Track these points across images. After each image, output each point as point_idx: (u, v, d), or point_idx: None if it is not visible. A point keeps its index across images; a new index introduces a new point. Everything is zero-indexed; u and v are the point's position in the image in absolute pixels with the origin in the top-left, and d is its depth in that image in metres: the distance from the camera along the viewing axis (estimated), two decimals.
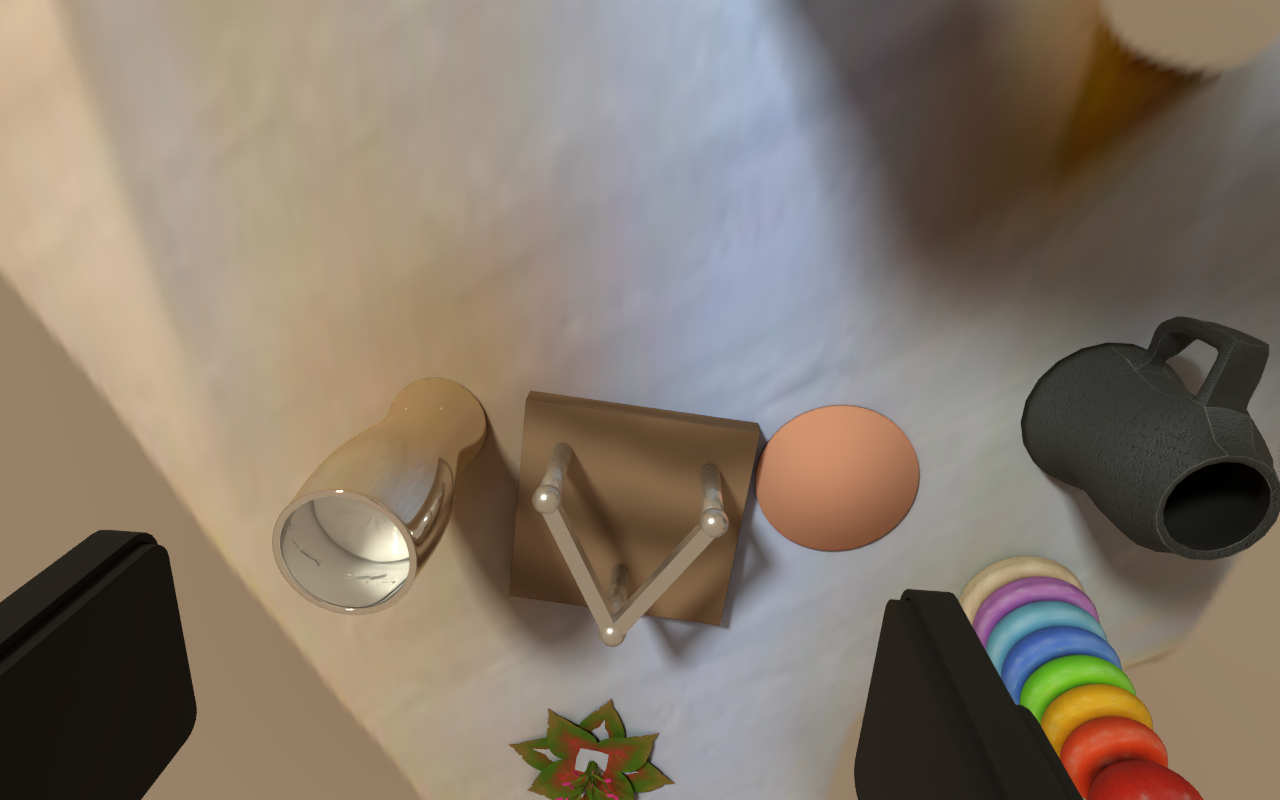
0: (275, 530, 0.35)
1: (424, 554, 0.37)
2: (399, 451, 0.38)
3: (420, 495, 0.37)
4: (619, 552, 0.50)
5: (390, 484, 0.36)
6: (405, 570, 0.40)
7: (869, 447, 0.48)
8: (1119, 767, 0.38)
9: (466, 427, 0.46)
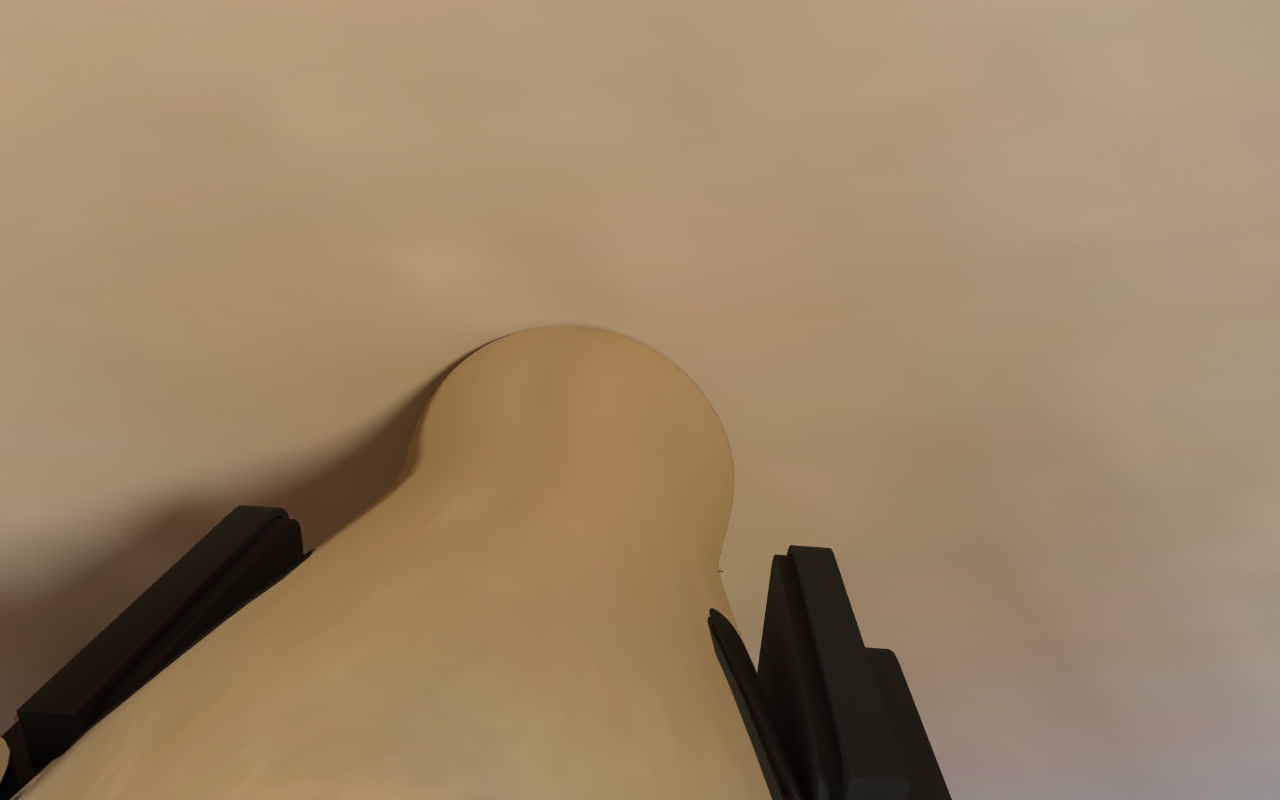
0: None
1: None
2: None
3: None
4: None
5: None
6: None
7: None
8: None
9: None
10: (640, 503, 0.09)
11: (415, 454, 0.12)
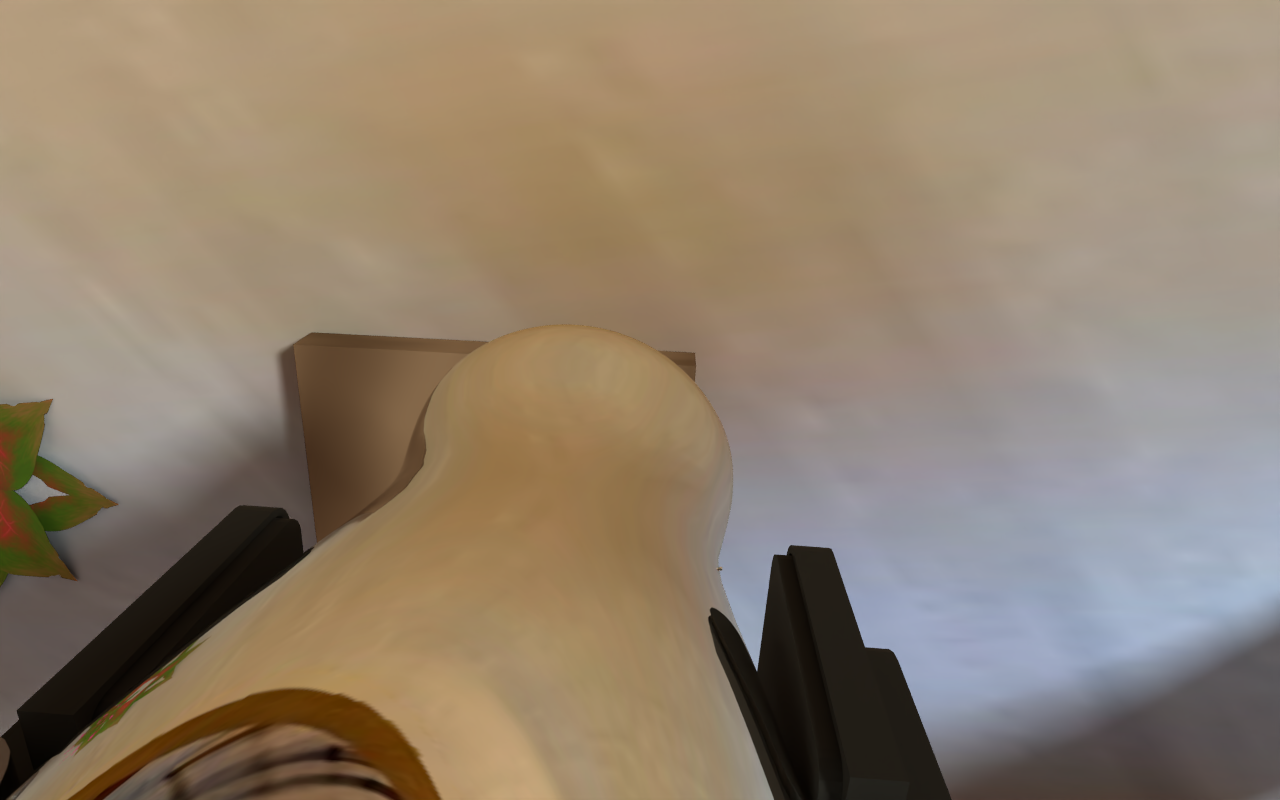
0: None
1: None
2: None
3: None
4: None
5: None
6: None
7: None
8: None
9: None
10: (639, 501, 0.09)
11: (414, 452, 0.12)
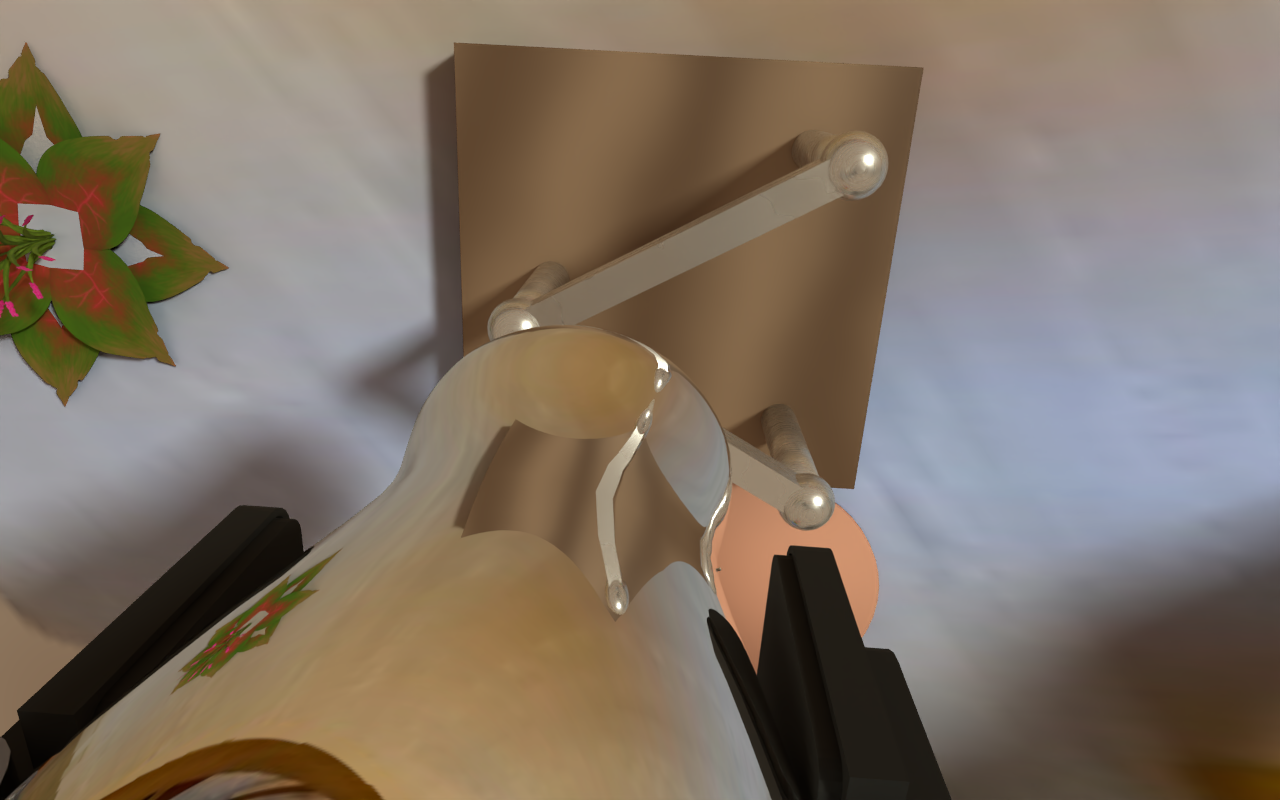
0: None
1: None
2: None
3: None
4: None
5: None
6: None
7: None
8: None
9: None
10: (638, 502, 0.09)
11: (413, 453, 0.12)
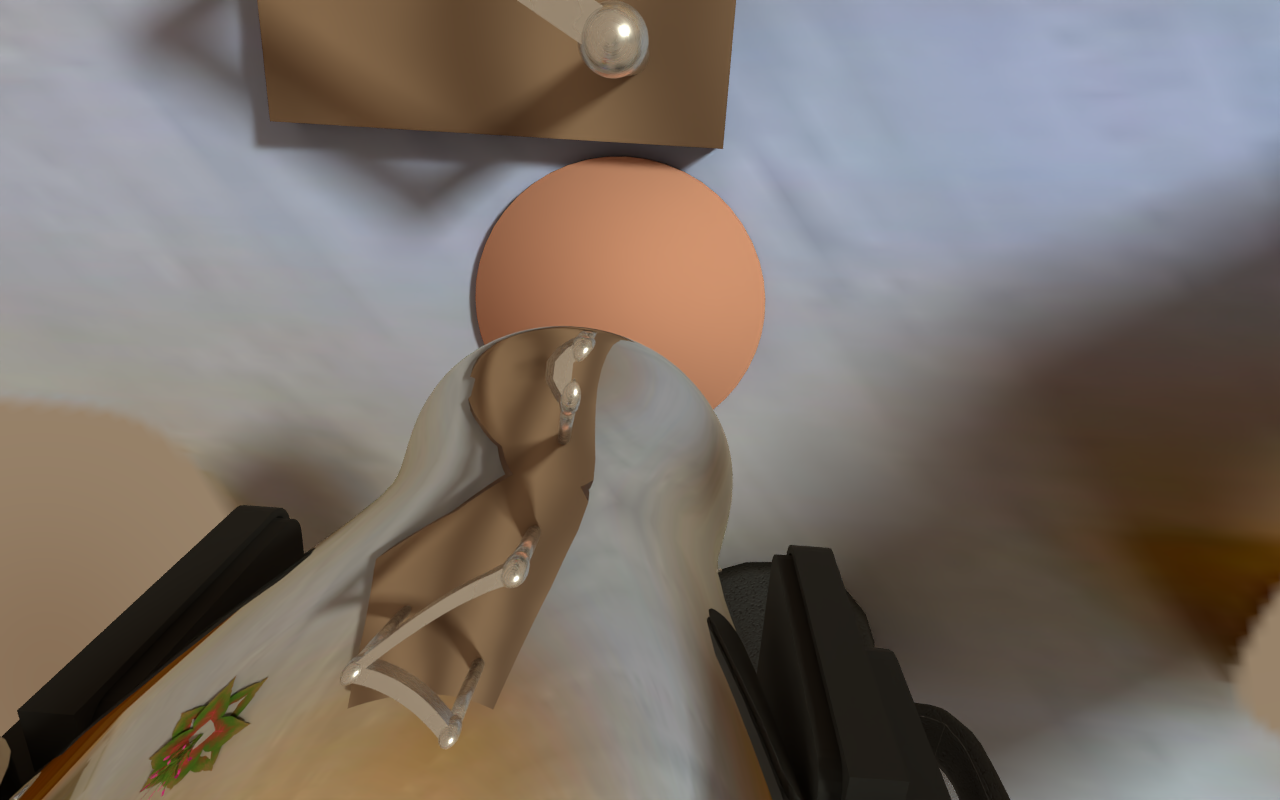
0: None
1: None
2: None
3: None
4: None
5: None
6: None
7: (691, 352, 0.28)
8: None
9: None
10: (639, 503, 0.09)
11: (413, 454, 0.12)
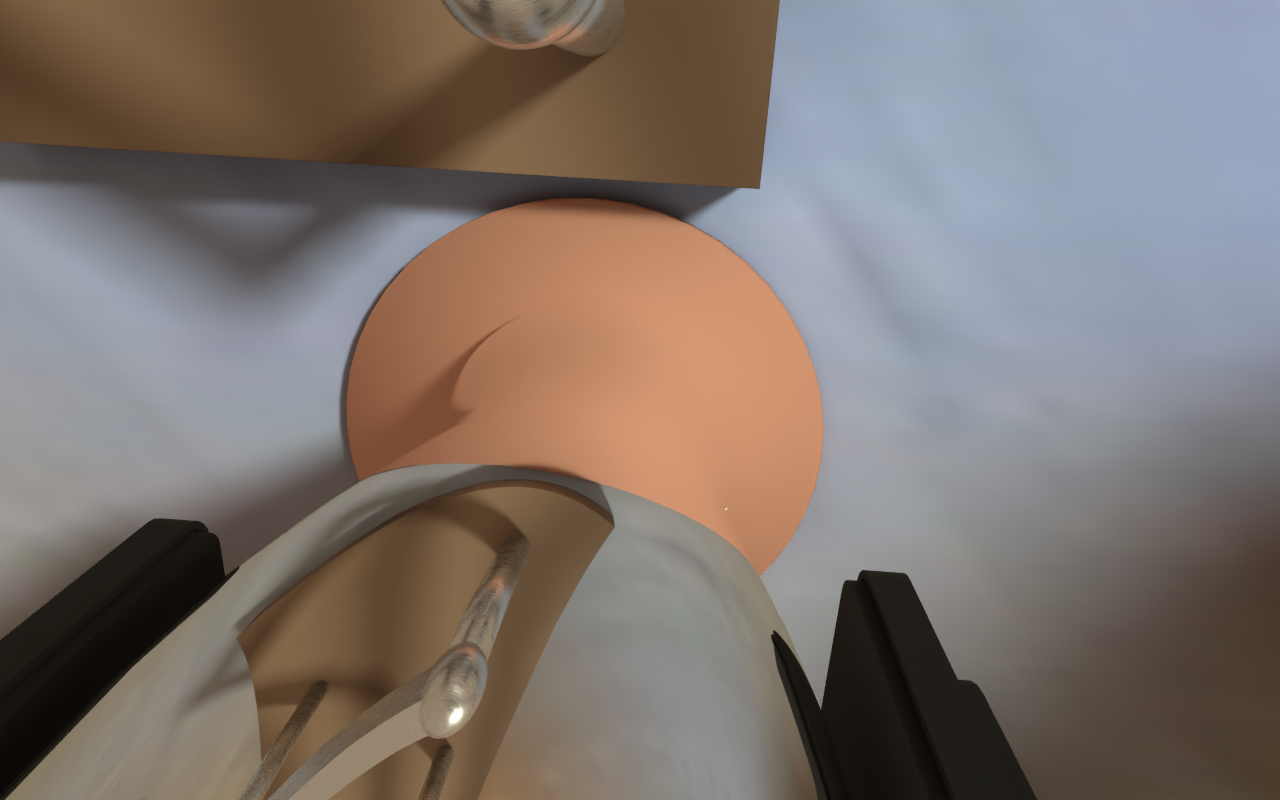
0: None
1: None
2: None
3: None
4: None
5: None
6: None
7: None
8: None
9: None
10: (656, 438, 0.11)
11: (453, 410, 0.13)
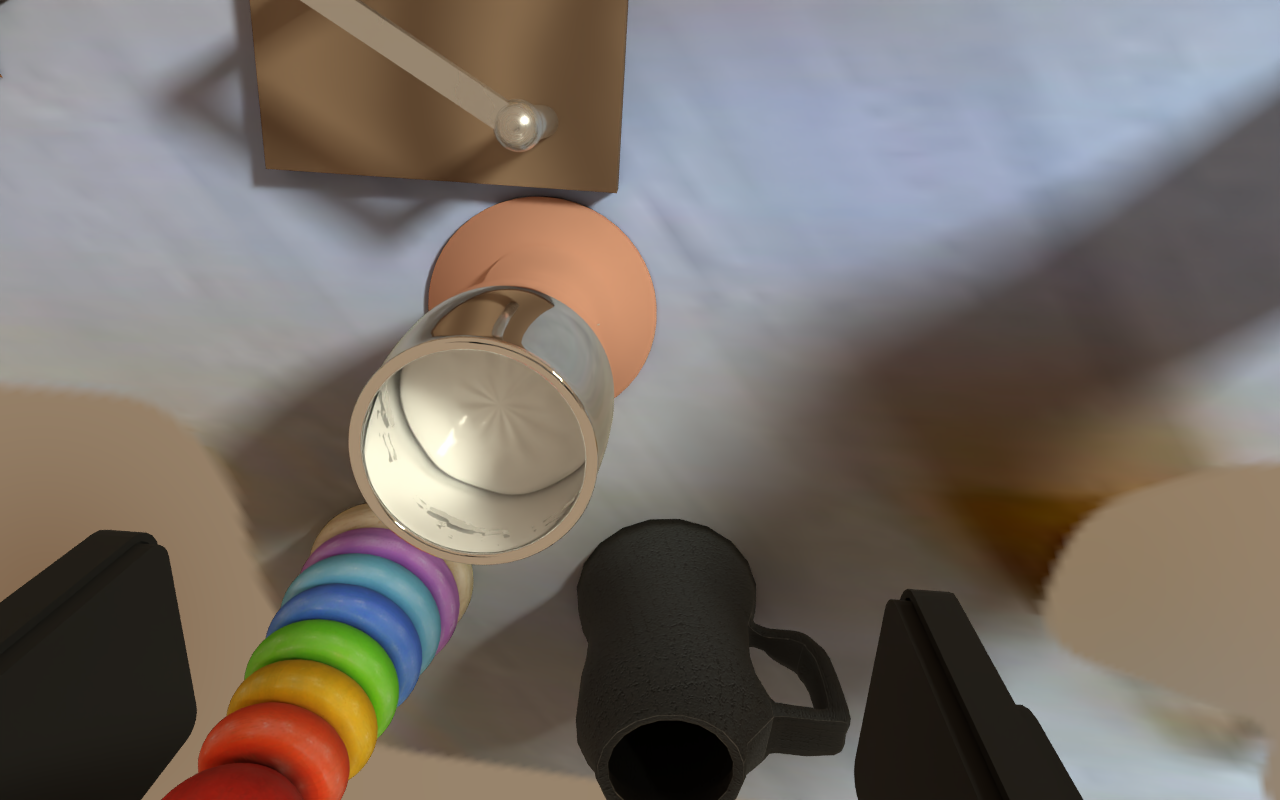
0: (503, 348, 0.20)
1: None
2: None
3: None
4: None
5: None
6: (405, 457, 0.24)
7: None
8: (292, 791, 0.25)
9: None
10: (567, 288, 0.29)
11: None
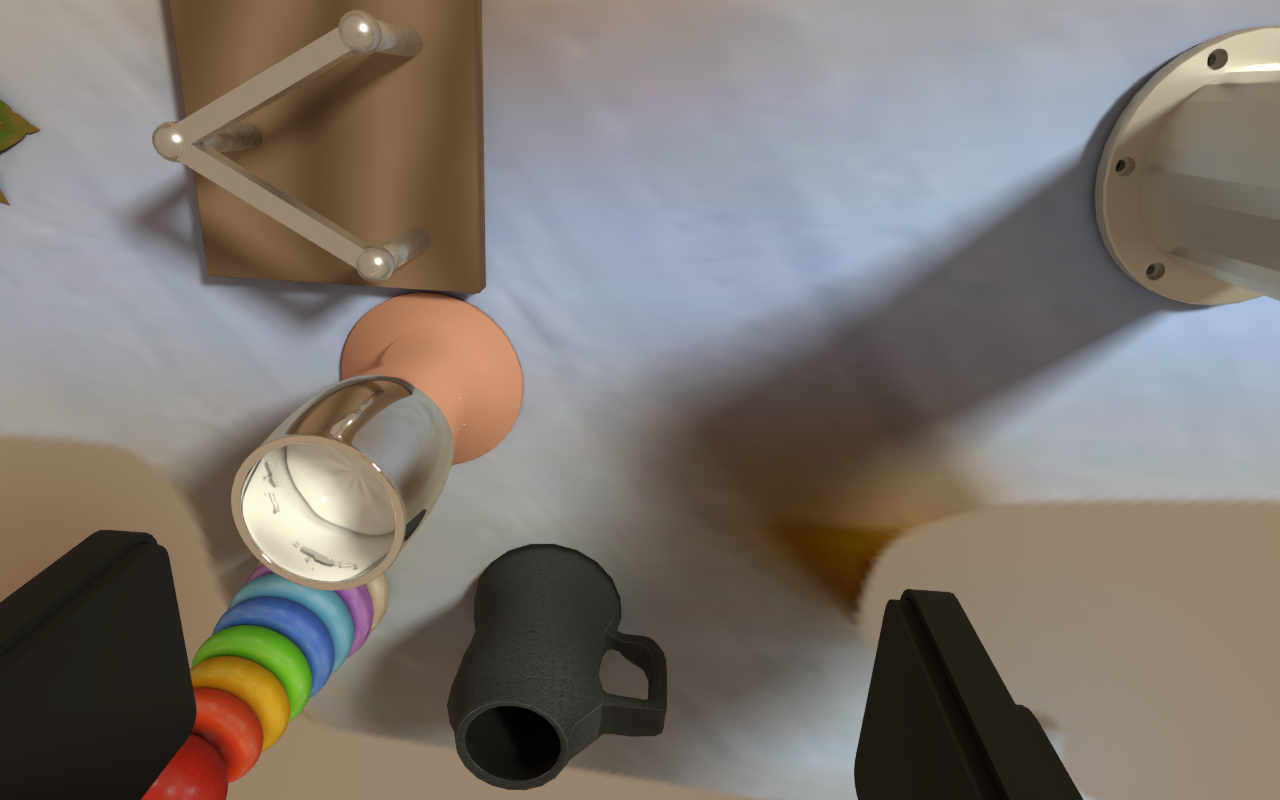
0: (331, 443, 0.28)
1: None
2: (438, 494, 0.34)
3: None
4: (278, 132, 0.38)
5: (412, 535, 0.31)
6: (289, 509, 0.33)
7: None
8: (212, 753, 0.34)
9: None
10: (429, 373, 0.38)
11: None
